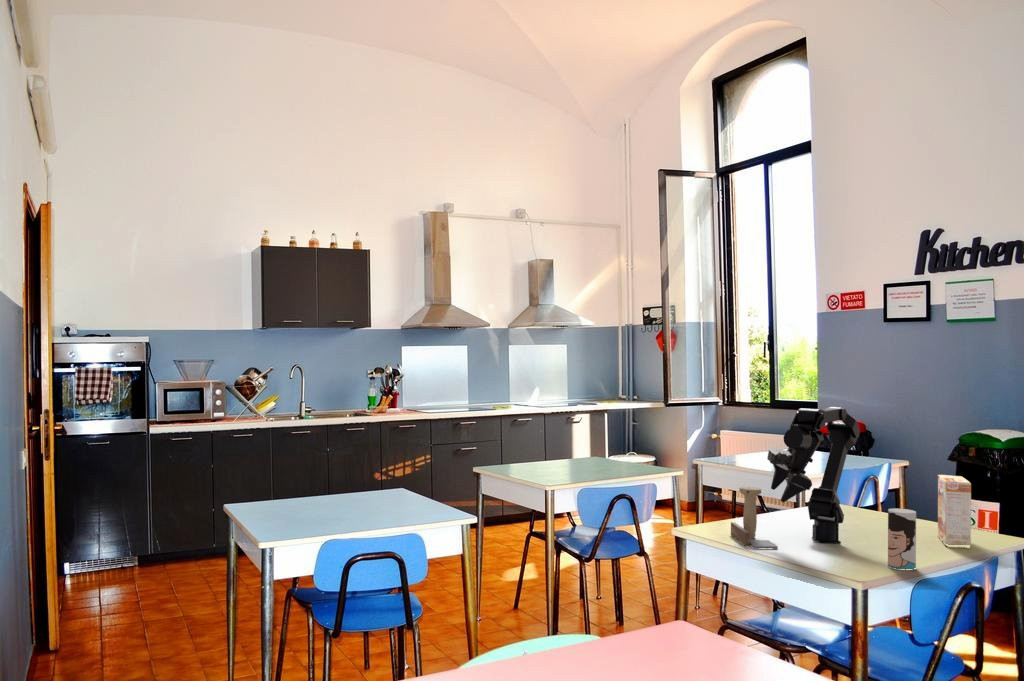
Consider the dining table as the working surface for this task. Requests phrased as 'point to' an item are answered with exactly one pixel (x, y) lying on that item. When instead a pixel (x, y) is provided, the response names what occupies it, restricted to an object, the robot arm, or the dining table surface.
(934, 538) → the dining table surface
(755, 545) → the end pad
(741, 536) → the walnut fence
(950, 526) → the coffeecake box
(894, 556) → the cup
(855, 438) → the robot arm
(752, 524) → the handle
